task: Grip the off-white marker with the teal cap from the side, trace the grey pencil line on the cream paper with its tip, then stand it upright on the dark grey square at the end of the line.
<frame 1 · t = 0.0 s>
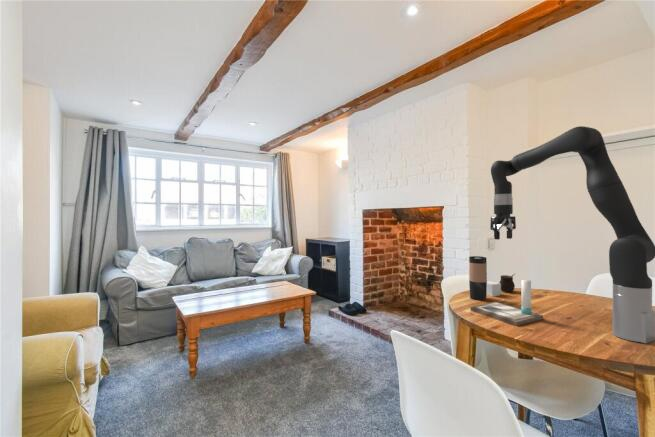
hand: (503, 238, 141), 29 cm above the table, tool pointing down, fingers open, 8 cm apart
marker: (526, 313, 120), point 2 cm above the table, touching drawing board
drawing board: (505, 314, 124), on the table
mate gourd: (507, 291, 159), on the table
travel mug: (478, 298, 147), on the table
white cube: (491, 294, 154), on the table
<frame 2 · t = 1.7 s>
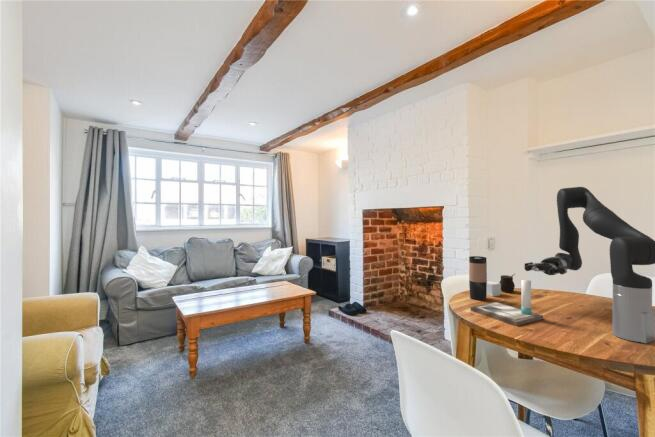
hand: (537, 270, 126), 17 cm above the table, tool horizontal, fingers open, 8 cm apart
nothing on the table moved.
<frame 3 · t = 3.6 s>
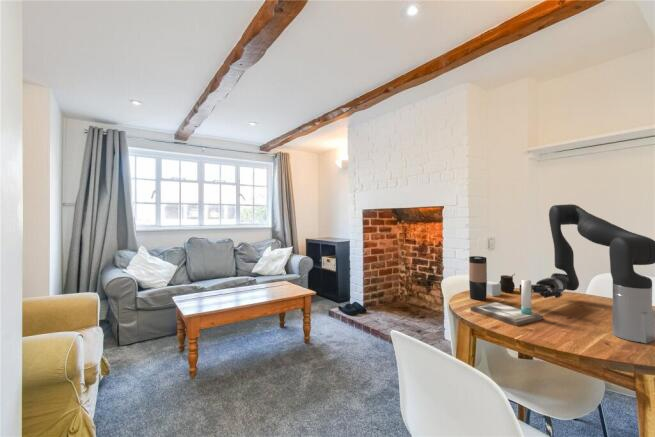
hand: (532, 292, 123), 9 cm above the table, tool horizontal, fingers open, 8 cm apart
nothing on the table moved.
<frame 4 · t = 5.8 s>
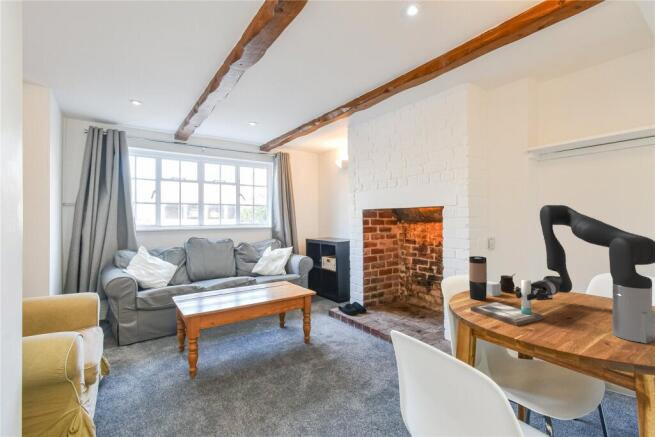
hand: (522, 296, 118), 9 cm above the table, tool horizontal, fingers closed on marker, 3 cm apart
marker: (526, 313, 120), point 2 cm above the table, touching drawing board, gripper
everything else where it was.
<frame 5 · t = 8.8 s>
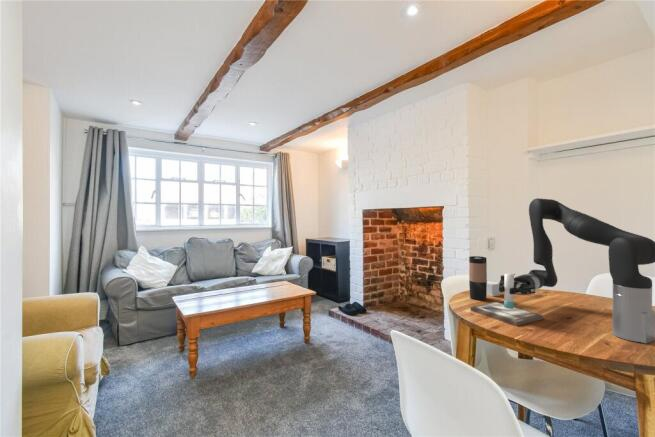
hand: (505, 290, 118), 12 cm above the table, tool horizontal, fingers closed on marker, 3 cm apart
marker: (509, 307, 119), point 4 cm above the table, touching gripper
everything else where it was.
when the fingers open (9 cm above the table, at t = 12.1 s): marker stays where it is, resting on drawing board.
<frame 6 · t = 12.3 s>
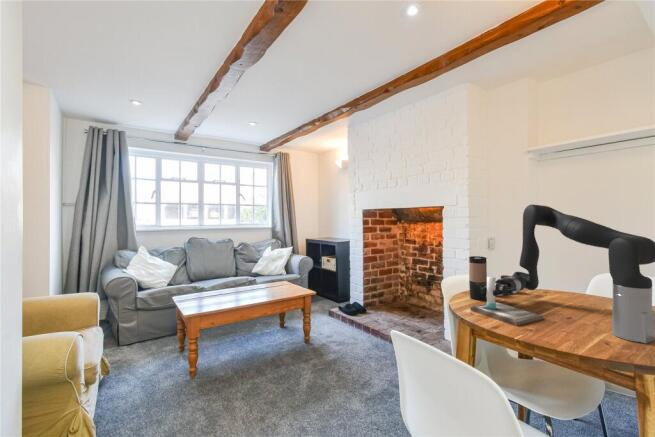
hand: (487, 292, 125), 9 cm above the table, tool horizontal, fingers open, 4 cm apart
marker: (491, 308, 126), point 2 cm above the table, touching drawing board
everything else where it was.
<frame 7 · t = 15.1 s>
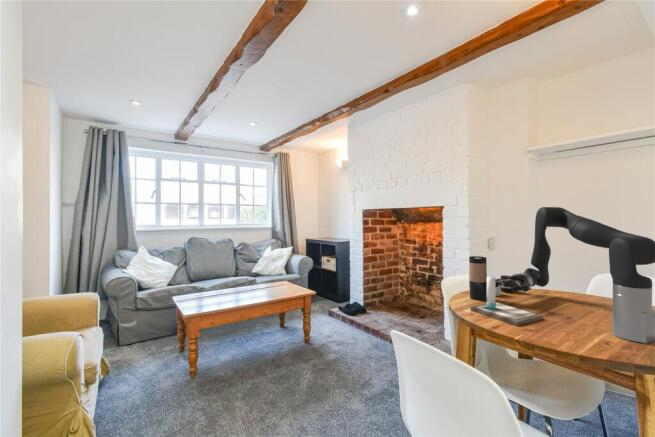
hand: (503, 287, 132), 9 cm above the table, tool horizontal, fingers open, 8 cm apart
nothing on the table moved.
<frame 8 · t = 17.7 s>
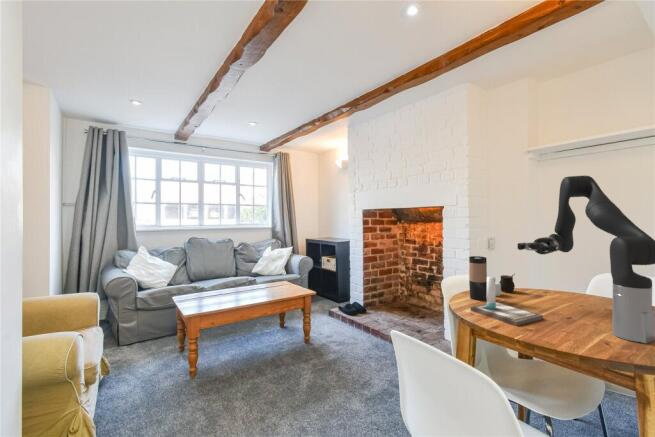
hand: (529, 248, 131), 26 cm above the table, tool horizontal, fingers open, 8 cm apart
nothing on the table moved.
at the end: marker 0.0 cm from the target spot on the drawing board, point 1.8 cm above the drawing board's base; marker tilted 0°; the gripper is holding nothing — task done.
